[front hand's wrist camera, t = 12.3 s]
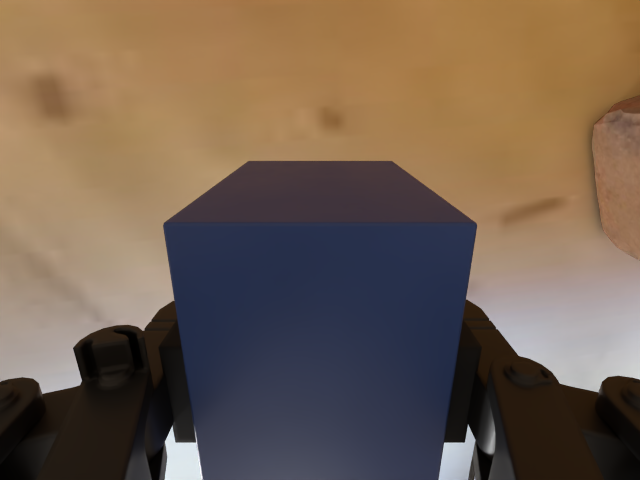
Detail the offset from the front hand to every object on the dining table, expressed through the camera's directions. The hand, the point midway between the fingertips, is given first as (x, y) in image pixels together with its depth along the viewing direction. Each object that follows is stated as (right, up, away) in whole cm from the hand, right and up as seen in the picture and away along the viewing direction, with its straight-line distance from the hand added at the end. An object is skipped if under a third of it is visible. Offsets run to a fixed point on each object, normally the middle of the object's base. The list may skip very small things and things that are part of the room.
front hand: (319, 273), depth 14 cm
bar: (0, -8, +4) cm, 8 cm away
